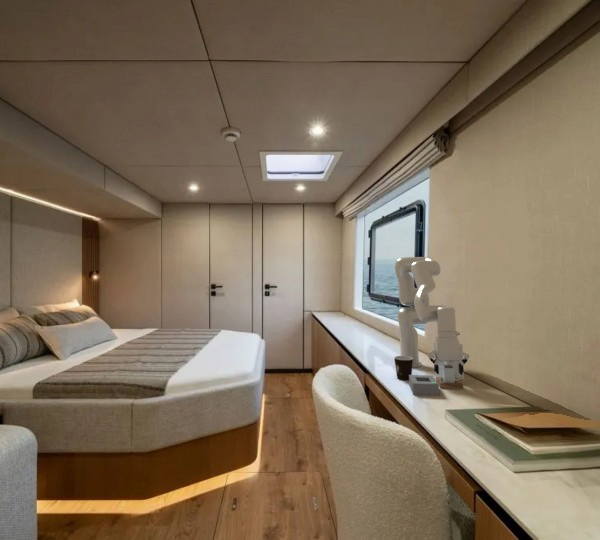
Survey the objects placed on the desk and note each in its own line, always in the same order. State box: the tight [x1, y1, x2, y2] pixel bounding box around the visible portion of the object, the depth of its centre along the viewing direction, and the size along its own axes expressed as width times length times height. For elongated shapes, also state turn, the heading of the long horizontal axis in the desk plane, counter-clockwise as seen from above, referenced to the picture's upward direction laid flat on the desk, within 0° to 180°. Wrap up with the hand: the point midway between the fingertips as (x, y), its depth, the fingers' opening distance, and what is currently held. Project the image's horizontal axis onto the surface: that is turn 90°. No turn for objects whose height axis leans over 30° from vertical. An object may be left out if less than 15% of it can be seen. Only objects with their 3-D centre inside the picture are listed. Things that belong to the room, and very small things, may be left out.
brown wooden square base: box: [435, 376, 464, 390], centre depth 141 cm, size 9×9×2 cm
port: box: [408, 374, 440, 397], centre depth 136 cm, size 12×10×5 cm
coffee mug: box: [394, 355, 413, 381], centre depth 155 cm, size 12×9×10 cm
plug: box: [442, 365, 455, 383], centre depth 142 cm, size 4×4×9 cm
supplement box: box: [433, 341, 465, 381], centre depth 153 cm, size 10×9×17 cm
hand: (448, 373), depth 141 cm, fingers open, 9 cm apart
